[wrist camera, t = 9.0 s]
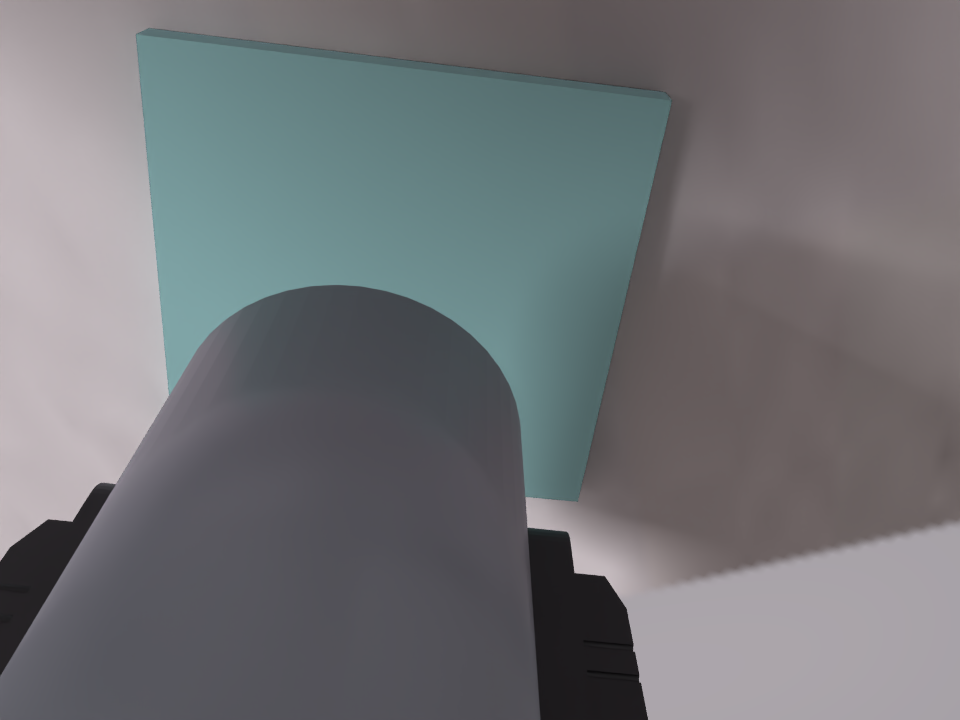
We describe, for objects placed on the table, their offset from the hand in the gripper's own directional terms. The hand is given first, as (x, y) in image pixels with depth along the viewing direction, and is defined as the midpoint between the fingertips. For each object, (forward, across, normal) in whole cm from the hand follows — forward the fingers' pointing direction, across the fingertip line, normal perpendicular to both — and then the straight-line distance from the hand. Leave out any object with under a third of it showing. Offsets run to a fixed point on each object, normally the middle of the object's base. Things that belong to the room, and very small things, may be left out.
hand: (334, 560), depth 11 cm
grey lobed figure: (+1, 0, 0) cm, 1 cm away
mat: (+7, 0, 0) cm, 7 cm away
